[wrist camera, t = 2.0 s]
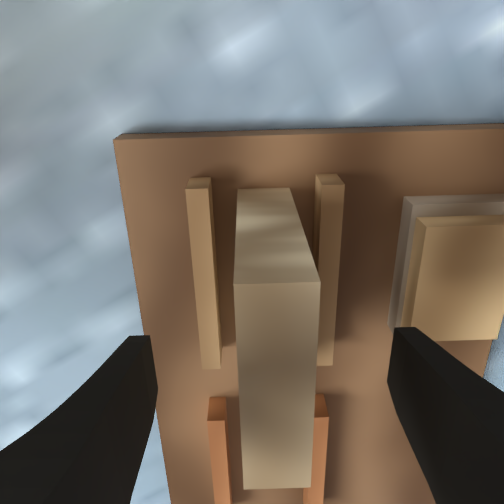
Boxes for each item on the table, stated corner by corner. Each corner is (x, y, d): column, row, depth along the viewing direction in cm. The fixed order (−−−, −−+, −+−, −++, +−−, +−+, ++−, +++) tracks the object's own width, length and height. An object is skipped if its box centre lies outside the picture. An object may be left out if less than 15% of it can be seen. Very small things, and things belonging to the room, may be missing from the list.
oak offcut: (511, 214, 16) (527, 224, 15) (484, 324, 18) (497, 339, 17) (416, 217, 16) (426, 227, 15) (400, 327, 18) (408, 341, 17)
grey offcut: (505, 193, 17) (520, 201, 16) (475, 321, 19) (486, 334, 19) (403, 196, 17) (412, 204, 16) (387, 323, 19) (394, 337, 19)
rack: (528, 122, 17) (575, 134, 14) (438, 494, 26) (459, 540, 24) (121, 134, 17) (100, 148, 14) (177, 503, 26) (170, 549, 24)
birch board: (289, 187, 17) (320, 281, 10) (287, 336, 20) (310, 487, 13) (237, 188, 17) (233, 284, 10) (243, 337, 20) (243, 489, 13)
